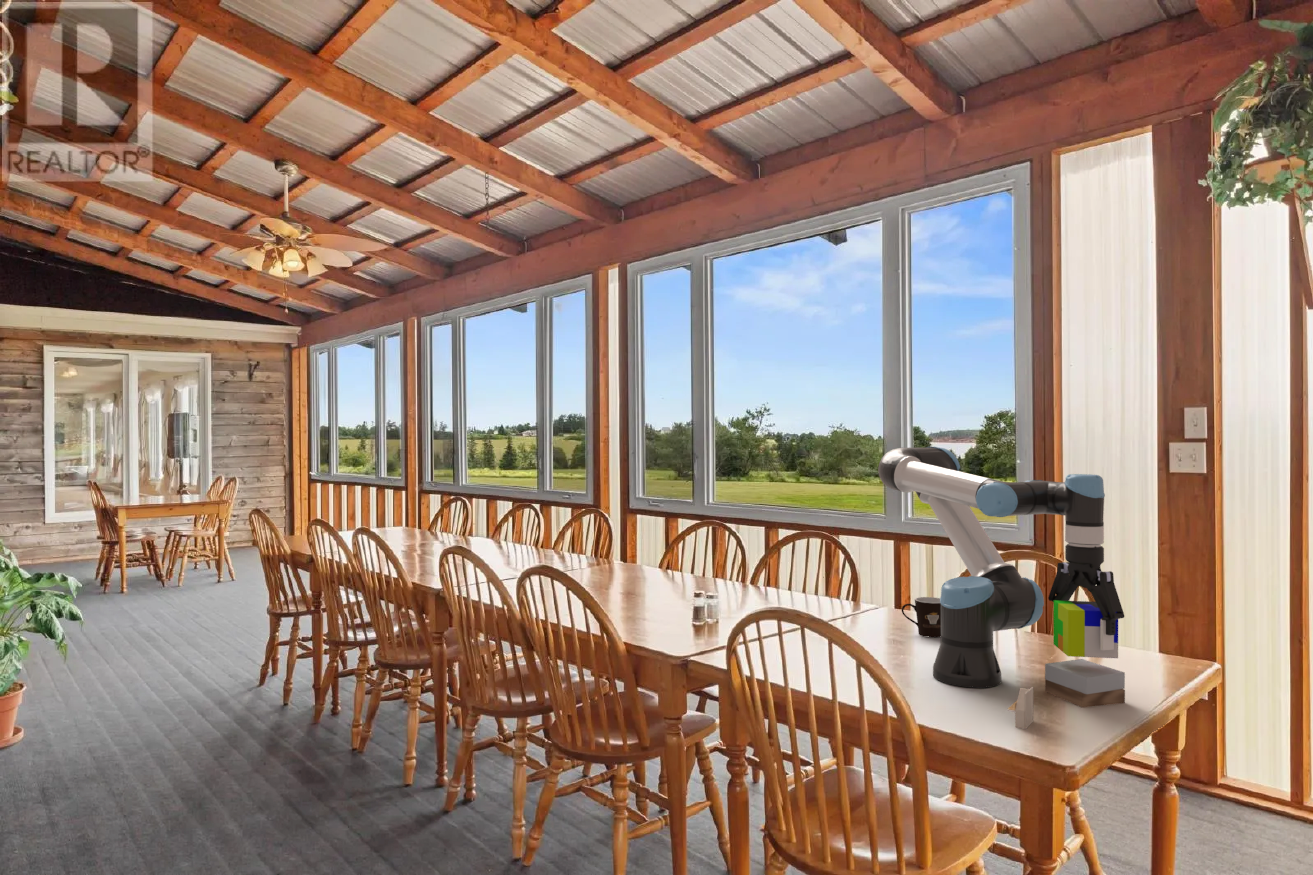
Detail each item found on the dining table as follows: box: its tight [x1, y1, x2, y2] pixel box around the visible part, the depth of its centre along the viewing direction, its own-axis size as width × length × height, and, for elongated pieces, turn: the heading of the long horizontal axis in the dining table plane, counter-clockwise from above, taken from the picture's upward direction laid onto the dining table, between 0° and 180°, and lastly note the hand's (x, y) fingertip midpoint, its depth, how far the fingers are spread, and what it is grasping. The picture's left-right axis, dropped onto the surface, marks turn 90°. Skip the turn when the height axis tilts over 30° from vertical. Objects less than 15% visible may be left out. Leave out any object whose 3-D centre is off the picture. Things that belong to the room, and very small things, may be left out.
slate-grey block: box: [1044, 658, 1126, 694], centre depth 179 cm, size 11×11×4 cm
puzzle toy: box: [1052, 600, 1119, 659], centre depth 179 cm, size 10×10×10 cm
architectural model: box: [1007, 686, 1034, 730], centre depth 164 cm, size 3×7×7 cm, turn 141°
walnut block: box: [1044, 678, 1126, 708], centre depth 179 cm, size 11×11×4 cm
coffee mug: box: [901, 596, 941, 638], centre depth 235 cm, size 12×9×10 cm
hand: (1084, 642), depth 179 cm, fingers closed on puzzle toy, 12 cm apart
